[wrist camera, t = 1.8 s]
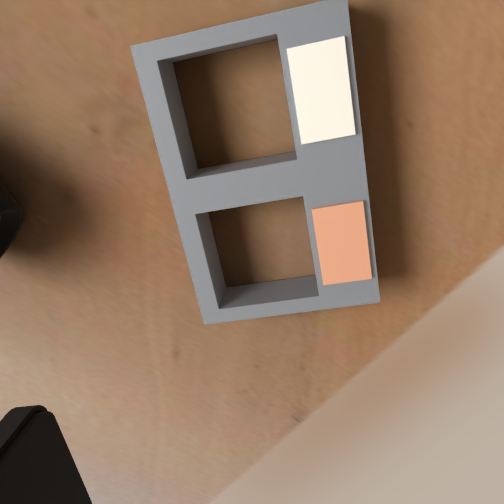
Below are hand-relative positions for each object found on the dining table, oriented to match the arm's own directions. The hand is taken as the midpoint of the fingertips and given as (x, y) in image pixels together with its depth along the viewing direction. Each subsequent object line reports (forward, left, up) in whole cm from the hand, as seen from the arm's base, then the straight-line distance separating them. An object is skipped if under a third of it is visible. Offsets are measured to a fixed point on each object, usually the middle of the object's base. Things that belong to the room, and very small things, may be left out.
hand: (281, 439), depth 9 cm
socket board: (+2, 0, -28) cm, 28 cm away
